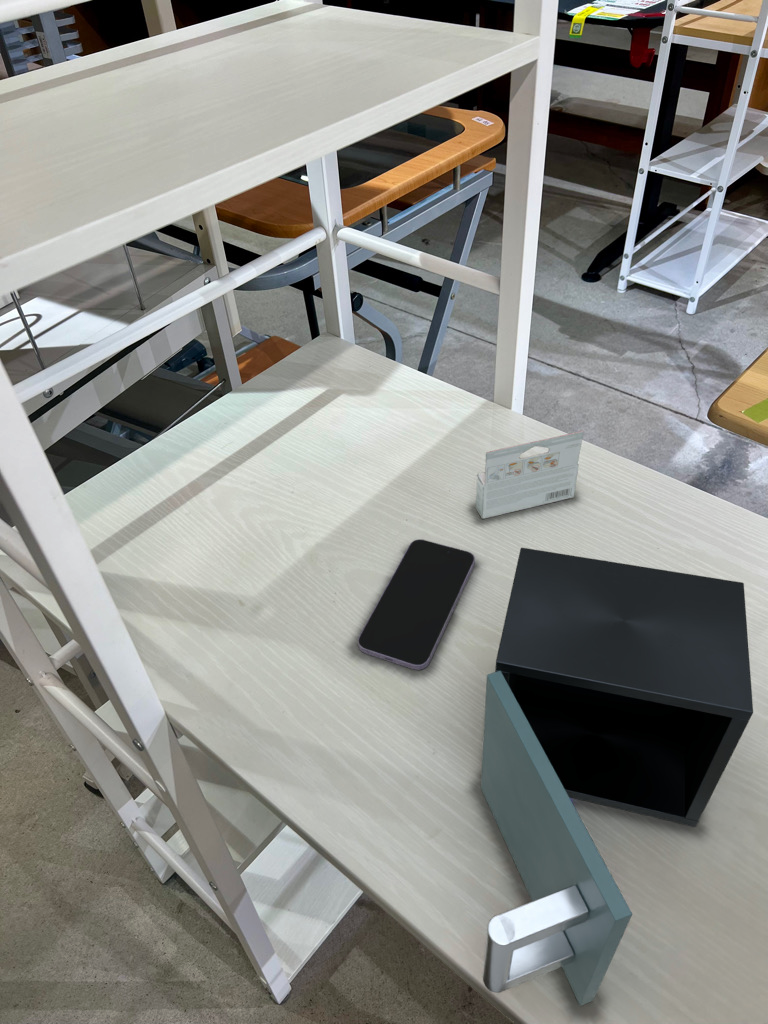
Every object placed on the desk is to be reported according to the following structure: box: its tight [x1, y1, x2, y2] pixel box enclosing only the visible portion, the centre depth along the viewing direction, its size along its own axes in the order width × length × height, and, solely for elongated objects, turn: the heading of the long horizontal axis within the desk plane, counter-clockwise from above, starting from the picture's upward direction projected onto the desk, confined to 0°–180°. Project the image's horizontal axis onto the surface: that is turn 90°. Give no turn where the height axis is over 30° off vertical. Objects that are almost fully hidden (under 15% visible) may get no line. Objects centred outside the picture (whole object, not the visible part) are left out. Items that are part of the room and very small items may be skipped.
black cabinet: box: [494, 547, 754, 828], centre depth 57 cm, size 11×16×16 cm
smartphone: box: [357, 539, 476, 671], centre depth 74 cm, size 7×1×15 cm
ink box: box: [475, 430, 585, 519], centre depth 81 cm, size 2×11×10 cm, turn 105°
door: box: [480, 671, 633, 1007], centre depth 49 cm, size 7×16×16 cm, turn 18°
